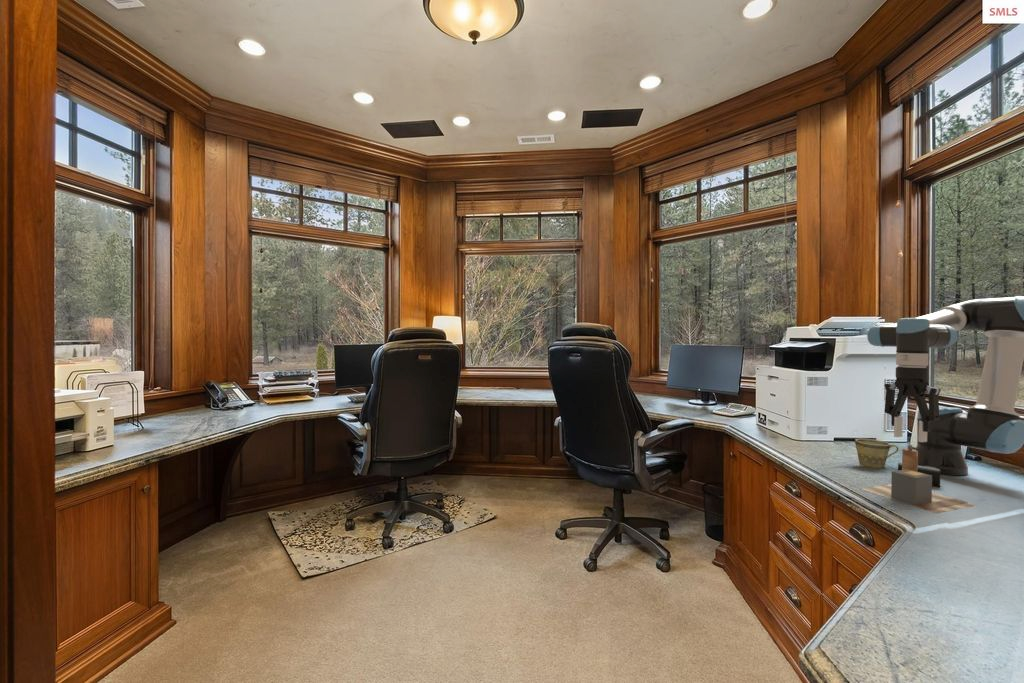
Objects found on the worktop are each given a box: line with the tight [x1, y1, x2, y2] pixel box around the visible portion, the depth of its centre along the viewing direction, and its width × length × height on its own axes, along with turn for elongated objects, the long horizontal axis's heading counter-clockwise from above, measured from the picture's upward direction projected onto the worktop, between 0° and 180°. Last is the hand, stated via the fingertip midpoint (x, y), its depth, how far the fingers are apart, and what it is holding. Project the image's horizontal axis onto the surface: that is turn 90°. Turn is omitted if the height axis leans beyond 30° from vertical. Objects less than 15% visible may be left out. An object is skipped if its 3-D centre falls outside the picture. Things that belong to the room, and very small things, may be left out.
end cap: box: [897, 462, 941, 488], centre depth 140 cm, size 10×7×7 cm
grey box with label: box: [890, 469, 933, 506], centre depth 124 cm, size 7×6×8 cm
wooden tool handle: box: [901, 444, 918, 472], centre depth 134 cm, size 4×4×14 cm
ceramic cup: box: [854, 438, 899, 469], centre depth 157 cm, size 13×10×10 cm
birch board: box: [861, 483, 977, 514], centre depth 127 cm, size 18×19×1 cm
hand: (910, 438), depth 134 cm, fingers open, 6 cm apart
